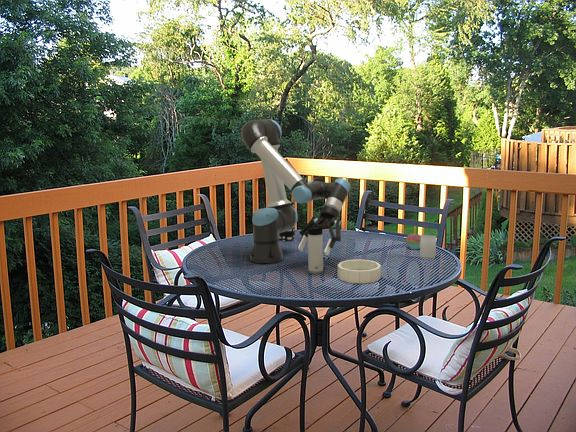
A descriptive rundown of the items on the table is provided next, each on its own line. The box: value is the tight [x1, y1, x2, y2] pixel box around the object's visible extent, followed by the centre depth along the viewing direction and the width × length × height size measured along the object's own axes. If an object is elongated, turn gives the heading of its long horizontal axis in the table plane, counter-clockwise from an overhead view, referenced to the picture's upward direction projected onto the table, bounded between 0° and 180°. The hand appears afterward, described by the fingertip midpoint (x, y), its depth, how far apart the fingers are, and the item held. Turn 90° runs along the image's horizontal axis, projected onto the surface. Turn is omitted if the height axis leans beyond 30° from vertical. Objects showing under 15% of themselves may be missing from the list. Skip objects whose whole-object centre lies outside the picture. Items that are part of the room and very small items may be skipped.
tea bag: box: [419, 234, 437, 259], centre depth 249 cm, size 4×7×10 cm, turn 69°
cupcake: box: [405, 226, 422, 250], centre depth 265 cm, size 9×8×12 cm
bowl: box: [337, 258, 382, 285], centre depth 222 cm, size 17×17×5 cm
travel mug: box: [307, 225, 324, 275], centre depth 228 cm, size 6×7×20 cm
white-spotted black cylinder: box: [278, 201, 296, 242], centre depth 287 cm, size 8×8×20 cm
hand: (312, 251), depth 226 cm, fingers open, 12 cm apart
